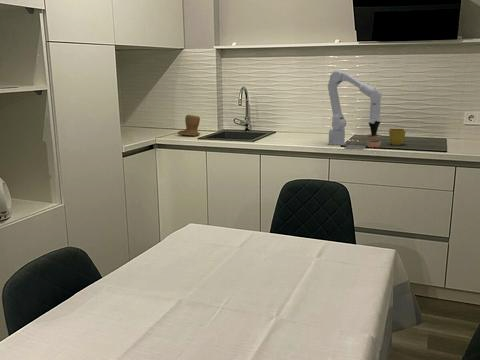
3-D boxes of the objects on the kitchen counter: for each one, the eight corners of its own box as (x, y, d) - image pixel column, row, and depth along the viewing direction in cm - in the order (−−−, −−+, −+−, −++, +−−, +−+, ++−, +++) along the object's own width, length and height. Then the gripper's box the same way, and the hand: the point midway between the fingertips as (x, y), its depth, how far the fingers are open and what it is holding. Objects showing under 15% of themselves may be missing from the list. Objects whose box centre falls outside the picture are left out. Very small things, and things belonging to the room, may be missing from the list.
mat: (344, 148, 281) (344, 147, 281) (348, 145, 291) (348, 145, 291) (363, 149, 277) (363, 149, 277) (366, 146, 286) (366, 145, 286)
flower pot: (404, 145, 286) (405, 130, 284) (389, 145, 288) (390, 130, 286) (403, 143, 295) (403, 128, 293) (388, 143, 297) (388, 128, 294)
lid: (365, 137, 283) (365, 130, 282) (367, 135, 291) (368, 128, 290) (380, 137, 280) (380, 131, 279) (382, 135, 287) (382, 129, 286)
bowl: (365, 147, 285) (366, 142, 284) (368, 145, 292) (368, 140, 291) (379, 147, 282) (379, 142, 281) (381, 145, 288) (381, 140, 288)
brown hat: (204, 135, 347) (203, 114, 344) (194, 137, 337) (193, 115, 334) (186, 134, 355) (186, 113, 351) (177, 136, 345) (175, 115, 341)
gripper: (380, 112, 274) (378, 136, 277) (384, 110, 287) (383, 132, 290) (367, 112, 277) (366, 135, 280) (372, 109, 289) (371, 132, 293)
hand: (373, 134), depth 285 cm, fingers closed on lid, 3 cm apart
